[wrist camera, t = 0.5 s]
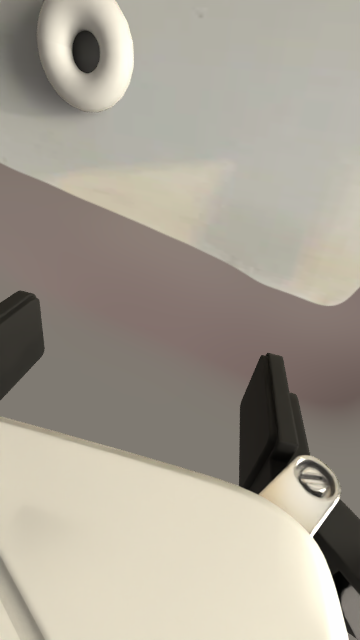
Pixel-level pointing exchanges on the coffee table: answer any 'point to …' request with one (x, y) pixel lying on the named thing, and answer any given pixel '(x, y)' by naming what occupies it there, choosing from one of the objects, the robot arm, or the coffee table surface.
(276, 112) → the coffee table surface
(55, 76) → the donut
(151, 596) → the robot arm
